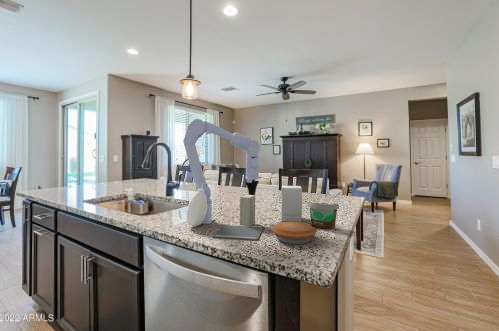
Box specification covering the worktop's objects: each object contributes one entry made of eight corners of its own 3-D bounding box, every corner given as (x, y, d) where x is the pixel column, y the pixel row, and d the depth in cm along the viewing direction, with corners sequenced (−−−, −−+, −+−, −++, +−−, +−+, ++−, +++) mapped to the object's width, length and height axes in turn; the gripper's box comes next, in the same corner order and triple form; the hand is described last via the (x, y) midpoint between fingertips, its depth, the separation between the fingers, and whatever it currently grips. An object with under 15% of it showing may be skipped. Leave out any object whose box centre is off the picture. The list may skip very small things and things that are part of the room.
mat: (212, 237, 85) (212, 236, 85) (224, 225, 99) (224, 224, 99) (257, 240, 82) (257, 238, 82) (263, 227, 96) (263, 226, 96)
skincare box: (246, 222, 105) (246, 194, 104) (255, 223, 103) (255, 195, 102) (239, 225, 99) (239, 196, 99) (249, 227, 97) (249, 197, 97)
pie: (285, 229, 95) (285, 216, 95) (323, 237, 85) (324, 223, 85) (262, 239, 83) (262, 225, 83) (303, 251, 73) (304, 234, 73)
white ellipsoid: (199, 231, 94) (208, 186, 92) (180, 225, 95) (189, 181, 93) (206, 225, 101) (215, 184, 100) (189, 220, 102) (197, 179, 101)
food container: (304, 227, 97) (304, 202, 96) (308, 223, 102) (308, 200, 102) (336, 232, 91) (336, 205, 91) (338, 227, 96) (339, 203, 96)
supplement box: (302, 222, 104) (302, 188, 104) (281, 221, 106) (281, 187, 105) (300, 217, 113) (301, 185, 113) (281, 216, 115) (281, 185, 114)
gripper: (258, 167, 101) (258, 200, 101) (263, 166, 115) (262, 194, 115) (242, 167, 102) (242, 199, 102) (248, 166, 116) (248, 194, 117)
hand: (252, 196), depth 109 cm, fingers closed
